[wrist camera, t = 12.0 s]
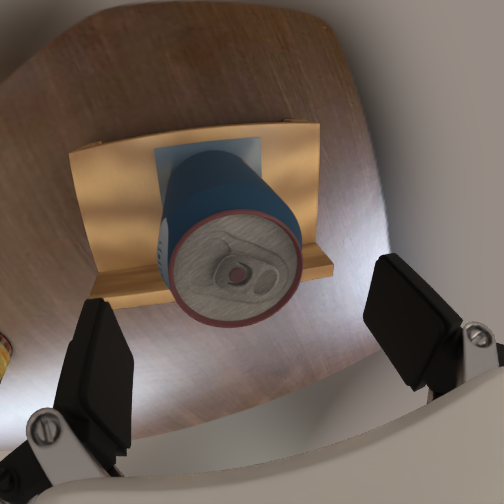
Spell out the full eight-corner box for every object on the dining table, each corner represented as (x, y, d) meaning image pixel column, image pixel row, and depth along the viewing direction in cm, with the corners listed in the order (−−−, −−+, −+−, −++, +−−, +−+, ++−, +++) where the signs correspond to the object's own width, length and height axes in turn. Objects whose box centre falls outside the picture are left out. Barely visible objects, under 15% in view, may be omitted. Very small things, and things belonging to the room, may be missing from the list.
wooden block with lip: (87, 143, 23) (47, 164, 15) (298, 118, 26) (344, 128, 18) (112, 256, 29) (92, 311, 21) (297, 231, 32) (332, 276, 24)
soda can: (155, 217, 22) (136, 319, 12) (187, 134, 20) (188, 168, 10) (234, 242, 25) (272, 347, 15) (270, 167, 22) (344, 231, 12)
